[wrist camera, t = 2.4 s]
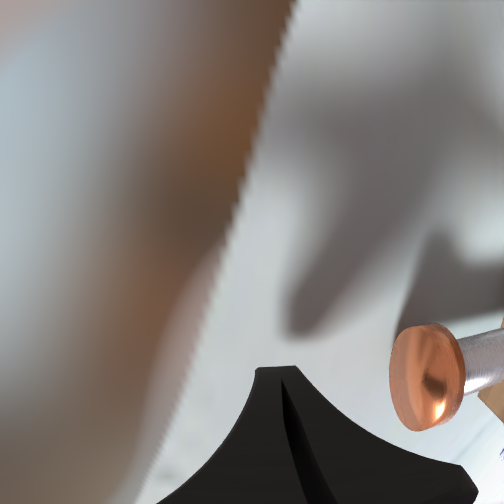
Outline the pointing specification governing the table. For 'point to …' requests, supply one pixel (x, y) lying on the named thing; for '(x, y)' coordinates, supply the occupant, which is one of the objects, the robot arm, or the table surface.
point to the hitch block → (494, 397)
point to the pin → (441, 372)
